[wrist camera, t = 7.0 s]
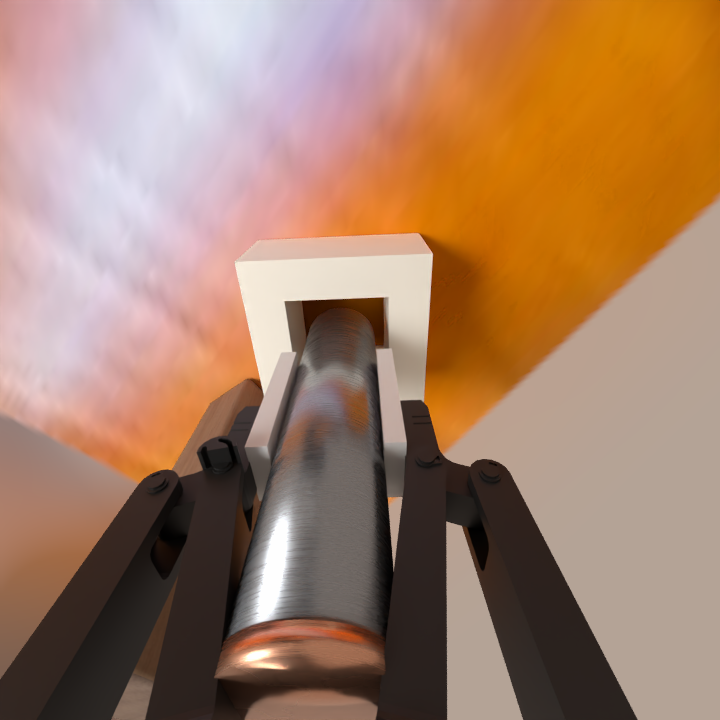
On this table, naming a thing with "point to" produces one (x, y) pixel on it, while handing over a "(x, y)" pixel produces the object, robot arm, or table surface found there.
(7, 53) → the table surface
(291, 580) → the peg
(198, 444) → the wooden block
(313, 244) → the socket
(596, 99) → the table surface
